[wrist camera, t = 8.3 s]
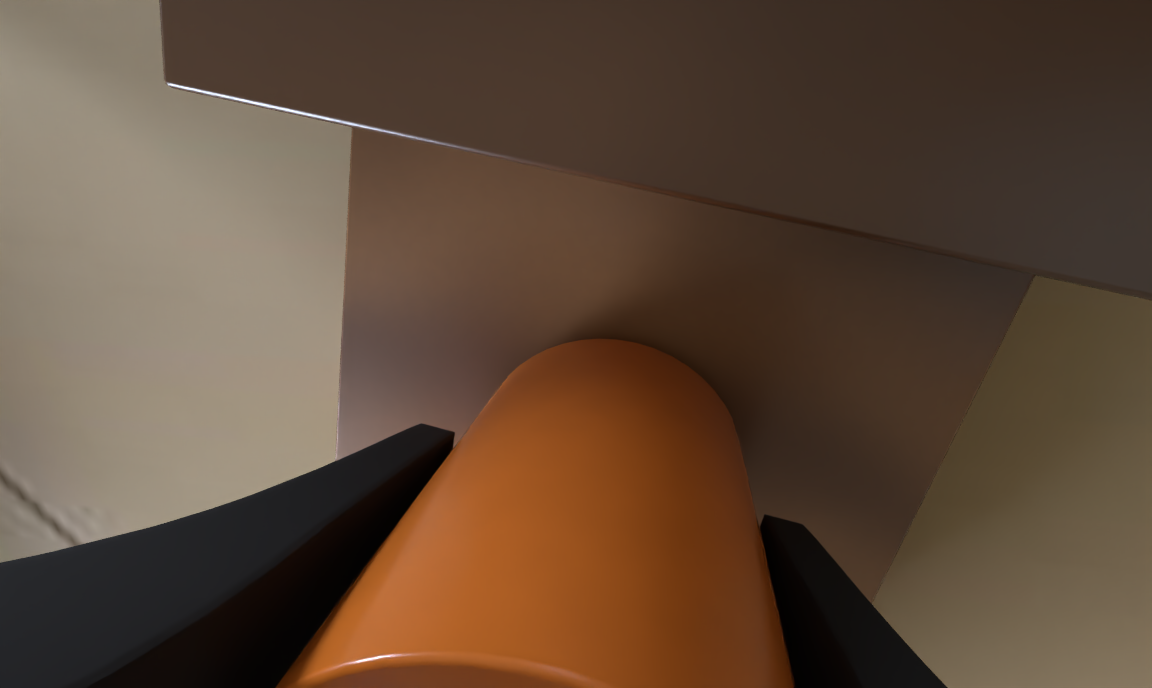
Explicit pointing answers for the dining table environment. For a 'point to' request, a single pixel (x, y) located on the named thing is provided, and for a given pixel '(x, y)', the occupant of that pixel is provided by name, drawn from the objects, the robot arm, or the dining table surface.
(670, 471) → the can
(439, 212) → the shelf riser
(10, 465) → the dining table surface
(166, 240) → the dining table surface
